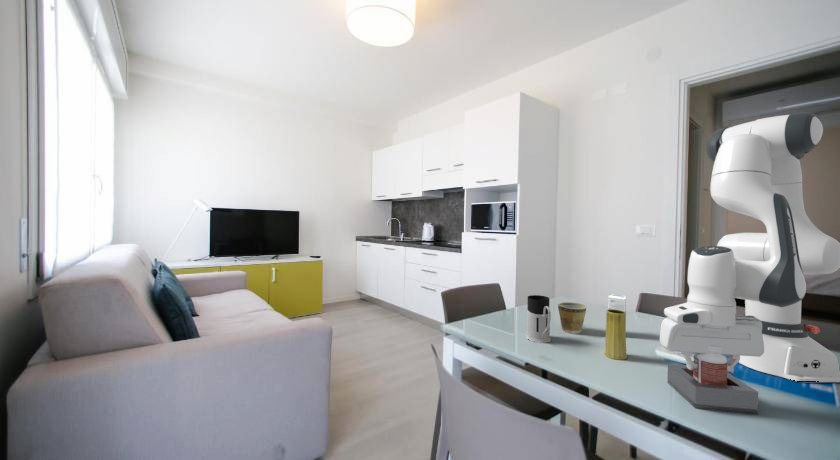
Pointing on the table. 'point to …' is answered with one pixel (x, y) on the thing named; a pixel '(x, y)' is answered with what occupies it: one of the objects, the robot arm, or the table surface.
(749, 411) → the metal socket
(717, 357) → the pill bottle
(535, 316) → the glass holder
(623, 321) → the vase
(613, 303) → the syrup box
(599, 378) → the table surface
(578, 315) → the ceramic cup
